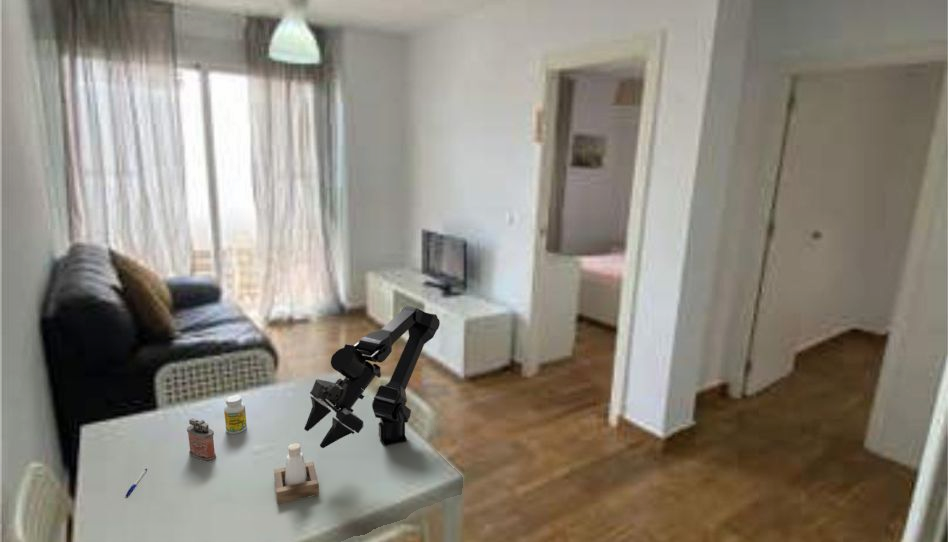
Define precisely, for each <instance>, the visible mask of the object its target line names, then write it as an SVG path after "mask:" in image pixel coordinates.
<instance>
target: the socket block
mask: <svg viewBox="0 0 948 542" xmlns="http://www.w3.org/2000/svg"><path fill="white" fill-rule="evenodd" d="M305 468H306V474H307V478H308V482H304V483H299V484H295V485H290V486H286V487H285V486H284V484H283V483H285V473H286V466H284V467H280V468H275V469H273V477H274V488H275V494H276V495H275V496H276V503H277V505H279V504H283V503H289V502H291V501H297V500H301V499H304V498H305V499H307V498H310V497H313V496H319V495H320V484H319V483H320V482H319V478H318V475H317V471H316V467H315V462H314V461H310V462H305ZM282 482H283V483H282ZM288 501H289V502H288Z"/></svg>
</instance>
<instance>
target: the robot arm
mask: <svg viewBox="0 0 948 542" xmlns="http://www.w3.org/2000/svg"><path fill="white" fill-rule="evenodd" d="M440 322H441V321H440V319H439V318H438V315H437V314H436V313H435V314H434V313H430V312H426V311H424V310H422V309H420V308H418V307H413V306H407V305H406V306H404V307H402V308H401V311H400V312H399V313H398V314H397V315H396V316H395V317H394V318H392V319H391V320H390V321H389V322H388V323H387V324H385V326H383V327H382V328H380V329H379V330H376V331H372V332H369V333H367V334H366V335H364V336H362V337H361V338H360V340H359V341H357V342H356V343H355V344H354V345H353V344H350V343H345V344H344V347H341V348H339V349H338V350H336V351H335V352H334V353H333V354H332V356H331V358H330V365H331V368H333V369H334V370H335V371H336V372H337V373H339V374H340V375H342V376H343V377H344V378H343V379H342V378H338V379H337V380H336V381H335V382H332V381H329V380H323V379H318V378H317V379H315V381H314V383H313V386H312V389H311V391H310V392H309V393H310V395H312V396H310V399H311V405H312V406H311V410H310V413H309V414H308V418H307V420H306V422H305V424H304V428H303V429H304V430H305V431H306V432H308V431H310V430H311V429H313V428H314V427H315V426H316V425H317V424H319V423H320V422H321V420H323V419H324V418H325V417H326V416H328V415H329V414H330V413H331V412H332V410H333V411H334V412H335V413H336V414H335V417H333V416H332V420H331V421H332V423H331V427H330V428H329V430H327V431H328V432H327V433H326V434H325V436H324V437H323V438H322V441H321V442H320V443H319V447H320V448H321V449H324V448H326V447H328V446H330V445H331V444H333V443H335V442H337V441H338V440H340V439H343V438H345V437H346V436H349V435H351V434H352V435H354V434H355V433H357V434H360V432H361V431H362V429H363V428H364V421H363V420H362V418H360V417H359V416H358V415H357V414H355V413H353V412H354V410H355V409H353V406H354V405H355V404H356V403H357V401H358V400H359V399H360V400H364V397H365V395H364V394H363V393H364V392H365V391H366V389H367V388H368V387H369V385H370V384H371V383H372V381H373V380H374V379H375V377H377V378H381V377H382V374H381V373H382V372H381V366H380V365H378V364H377V363H383V362H385V360H387V358H388V357H389V356H390V354H391V353H393V352H392V351H393V346H394V344H395V343H396V342H397V341H398V340H399V339H400V338H401V337H402V336H403V335H404V334H405V333H407V332H408V338H407V340H406V344H405V345H404V348H403V349H402V352H401V355H400V357H399V360H398V362H397V363H396V366H395V368H394V370H393V372H392V375H391V378H390V379H389V381H388V382H387V384H385V385H383V384H381V385H379V386H378V388H377V391H376V393H375V395H374V397H373V400H372V403H371V407H372V411H373V413H374V416H375V418H377V419H380V420H379V421H380V422H378V437H379V439H380V441H382V444H383V446H388V445H393V444H398V443H404V442H407V441H408V438H407V437H406V423H408V422H409V419H410V418H411V413H412V409H410V408H409V407H408V406H407V405H406V404H407V400H408V399H407V393H406V389H407V387H408V385H409V382H410V379H411V377H412V375H413V372H414V370H415V368H416V365H417V363H418V361H419V358H420V356H421V353H422V350H423V349H424V346H425V344H427V343H428V342H429V341H431V339H433V338H434V337H435V334H436V332H437V331H438V329H440V324H441V323H440ZM371 362H372V363H373V364H372V363H371Z"/></svg>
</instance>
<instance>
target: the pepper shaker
mask: <svg viewBox="0 0 948 542" xmlns="http://www.w3.org/2000/svg"><path fill="white" fill-rule="evenodd" d="M287 450H288V451H287V452H288V454H287V456H286V460H285V461H286V462H285V467H286V473H285V482H284V487H286V486H290V485H295V484H299V483H304V482H309V479H308V477H307V474H306V468H305V463H306V462H305V457H304V454H303V453H302V452H301V445H300V443H291V444H290V445H289V446H288V447H287Z"/></svg>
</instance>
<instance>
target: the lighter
mask: <svg viewBox="0 0 948 542" xmlns="http://www.w3.org/2000/svg"><path fill="white" fill-rule="evenodd" d="M188 421H189V422H188V423H189V426H187V427H186V431H187V434H188V435H187V436H188V444H189V451H188V452H189V456H191V457H192V458H193V459H195V460H198V461H201V462H204V463H205V462H206V463H210V462H213V461H215V460H216V458H217V456H216V452H215V444H214V443H215V442H214V435H215V434H214V433H215V432H214V430H213V429H211V428H210V427H209V423H206V422H205V420H204V419H201V420H199V419H196V418H194V417H193V418H190V419H188Z"/></svg>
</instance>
